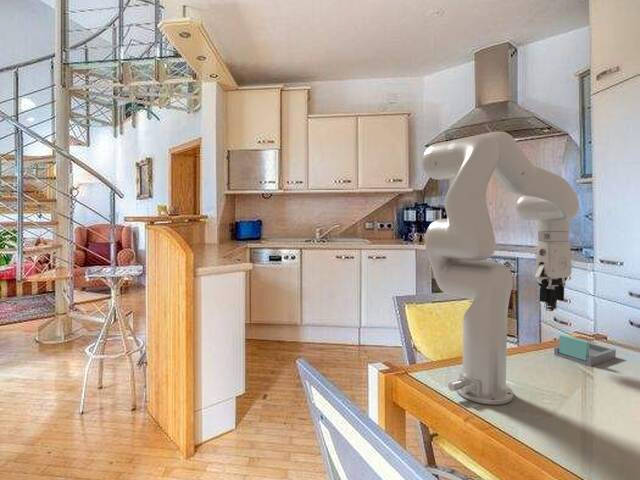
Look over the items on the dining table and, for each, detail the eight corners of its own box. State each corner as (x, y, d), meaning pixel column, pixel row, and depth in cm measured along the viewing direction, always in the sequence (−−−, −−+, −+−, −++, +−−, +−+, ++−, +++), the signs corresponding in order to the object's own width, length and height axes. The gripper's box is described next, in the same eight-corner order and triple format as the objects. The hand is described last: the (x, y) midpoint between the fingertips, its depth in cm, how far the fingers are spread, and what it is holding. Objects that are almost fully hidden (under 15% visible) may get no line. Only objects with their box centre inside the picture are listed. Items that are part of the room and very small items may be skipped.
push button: (559, 313, 105) (560, 277, 104) (537, 310, 108) (538, 275, 107) (562, 309, 110) (563, 274, 109) (541, 306, 113) (542, 272, 113)
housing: (590, 366, 105) (590, 358, 105) (554, 354, 114) (554, 347, 114) (615, 357, 111) (615, 349, 111) (579, 347, 120) (579, 340, 120)
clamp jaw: (585, 360, 106) (586, 342, 106) (558, 352, 113) (559, 335, 113) (588, 359, 107) (589, 341, 107) (561, 351, 114) (562, 334, 113)
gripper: (548, 239, 101) (546, 307, 102) (584, 236, 109) (582, 299, 110) (521, 238, 107) (520, 302, 109) (557, 235, 115) (556, 295, 116)
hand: (551, 300), depth 109 cm, fingers closed on push button, 4 cm apart
